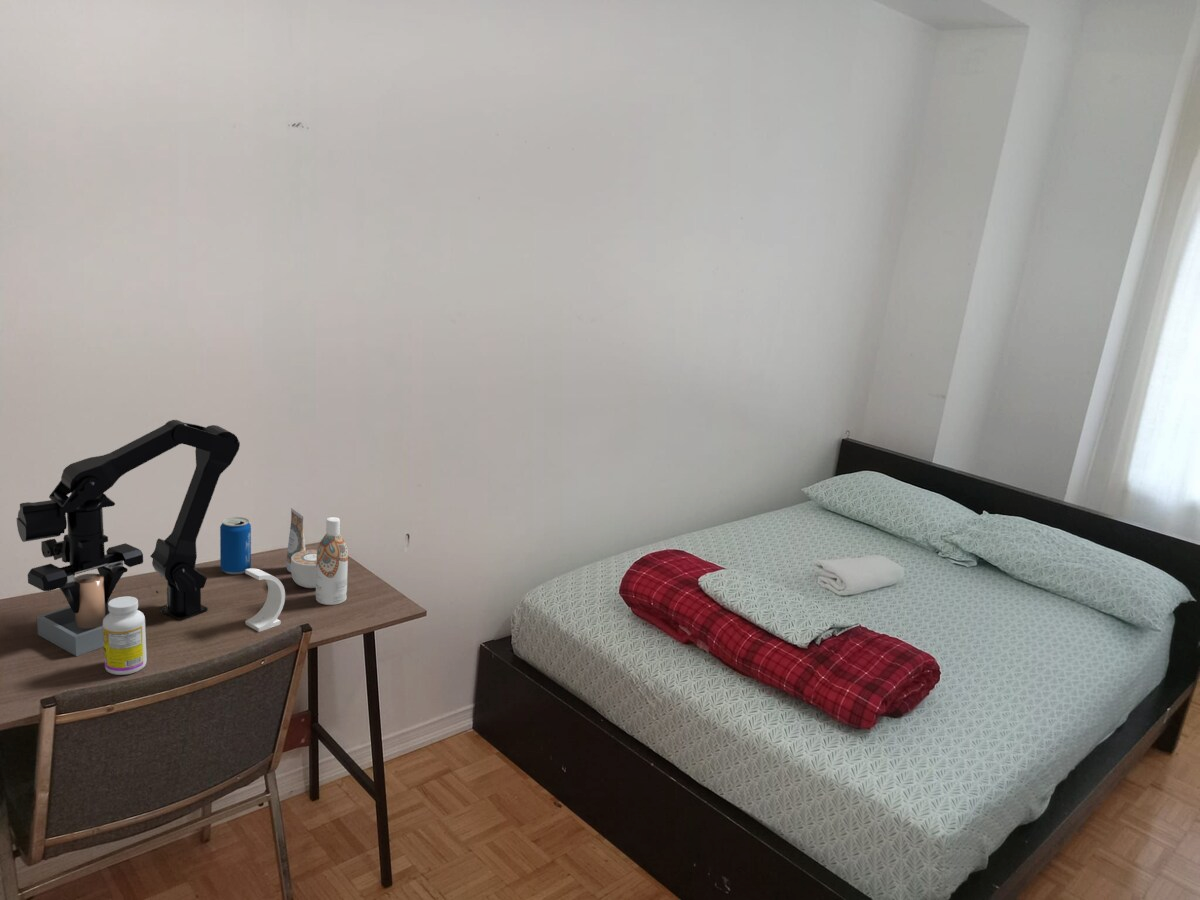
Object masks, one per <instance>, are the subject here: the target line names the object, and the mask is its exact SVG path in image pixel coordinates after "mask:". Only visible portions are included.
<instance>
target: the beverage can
mask: <svg viewBox="0 0 1200 900" xmlns="http://www.w3.org/2000/svg"><path fill="white" fill-rule="evenodd" d="M219 535H220V536H219V537H220V540H219V542H220V543H219V548H220V549H219V550H220V552H219V553H220V554H219V555H220V558H219V559H220V563H219V564H220V565H219V566H220V570H221V571H222V572H224V573H226V574H228V575H242V574H246V573H245V569H250V568H251V567H252V525H251V524H250V520H249V519H248V518H246V517H239V516H231V517H227V518H224V519H223V520H222V522H221V525H220V526H219Z"/></svg>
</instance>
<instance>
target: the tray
mask: <svg viewBox="0 0 1200 900" xmlns="http://www.w3.org/2000/svg"><path fill="white" fill-rule="evenodd" d="M110 600H112V599H111V598H109V599H108V601H107V603H106V604H105V616H106V615H108V614H109V613H110V612H109V610H108V603H109V601H110ZM36 623H37V624H36V626H37V635H38V636H39V637H41V638H43V639H45V640H46V641H48V642H51V643H52V644H54V646H57V647H58V648H60V649H63V650H64V651H66V652H68V653H69V654H71V655H74V656H75V657H79V656H81V655H82V656H83V655H84V654H86V653H89V652H92V651H95V650H97V649H101V648H104V639H103V625H101V626H98V627H94V628H79V627H77V626H76V625H75V613H74V612H73V611H72V609H71V607H70V605H69V606H66V607H63V608H59V609H56V610H53V611H49V612H47V613H43V614H41V615H38V616H36Z"/></svg>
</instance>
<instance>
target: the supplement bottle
mask: <svg viewBox="0 0 1200 900" xmlns="http://www.w3.org/2000/svg"><path fill="white" fill-rule="evenodd" d="M138 608H139V600H138V598H137V597H134V596H129V595H128V596H119V597H115V598H112V599H111V600H110V601H109V603H108V610H109V612H110V613H109V614H108V615H106V616H105V618H104V619H103V639H104V647H103V653H104V654H103V657H104V660H103V661H104V668H105V670H106V672H108V673H110V674H112V675H115V676H116V675H117V676H120V675H122V676H124V675H130V674H134V673H137V672H139V671H141V670H142V669H143V668H144V667H146V665H147V662H148V661H147V640H146V639H147V634H146V617H145V615H144V612H142V611H140V610H139V609H138Z"/></svg>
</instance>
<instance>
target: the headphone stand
mask: <svg viewBox="0 0 1200 900" xmlns="http://www.w3.org/2000/svg"><path fill="white" fill-rule="evenodd" d="M244 574H246V575H248V576H250V577H252V578H253V579H256V580H258V581H263V580H264V581H265V582H266V584H267V595H266V596H267V597H266V600H265V602H264V604H263V605H262V607H261V608H260V610H259V611H258V612H257V613H256V614H255V615H254V616H252V617H251V618H248V619H246V620H245V625H246V626H248V627H249V628H251V629H253V630H254V631H256V632H258V633H260V632H263V631H266V630H269V629H271V628H273V627H277V626H280V625H281V622H282V621H281V620H280V619H278V617H279V616H280V615H281V613H282V611H283V608H284V606H285V602H286V591H285V586H284V585H283V583H282V582H281V580H280V579H279V578H278V577H276V576H274V575H272V574H270V573H268V572H266V571H263V570H261V569H258V568H250V569H245V573H244Z"/></svg>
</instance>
